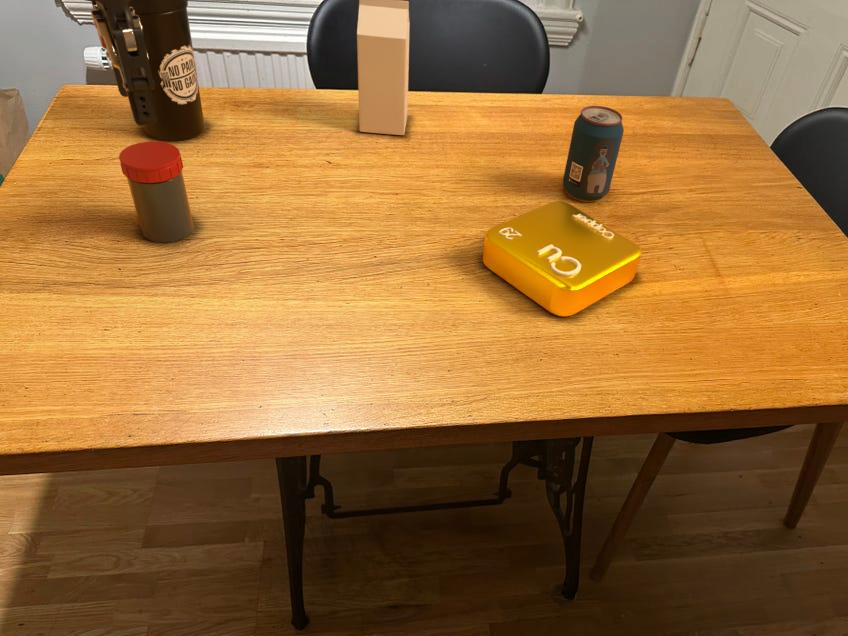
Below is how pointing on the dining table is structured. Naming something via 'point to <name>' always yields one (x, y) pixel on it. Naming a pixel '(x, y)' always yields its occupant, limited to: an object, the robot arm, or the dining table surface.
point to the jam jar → (162, 209)
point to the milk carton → (383, 65)
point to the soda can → (593, 153)
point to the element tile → (561, 257)
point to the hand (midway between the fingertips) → (138, 108)
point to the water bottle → (170, 69)
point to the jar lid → (151, 162)
